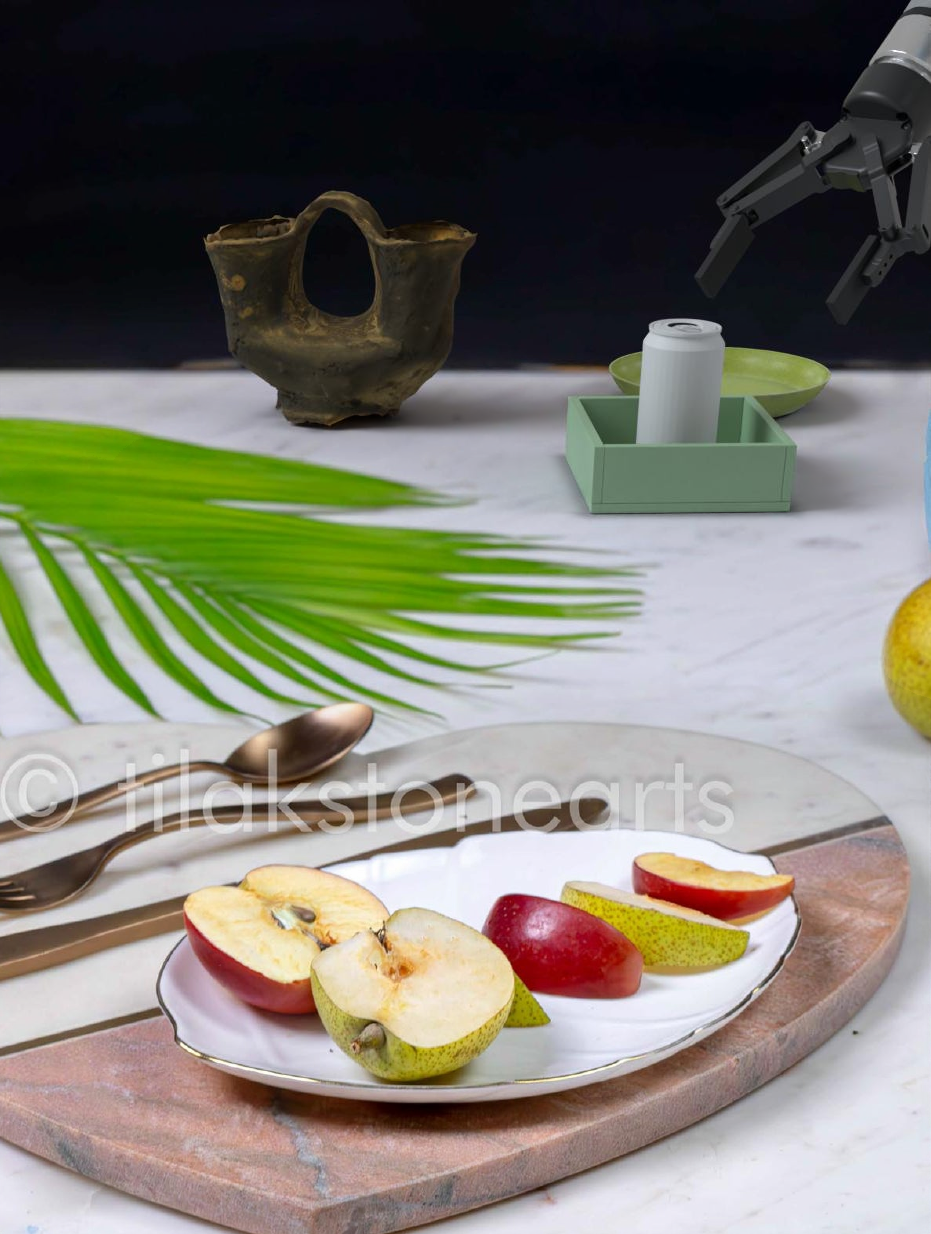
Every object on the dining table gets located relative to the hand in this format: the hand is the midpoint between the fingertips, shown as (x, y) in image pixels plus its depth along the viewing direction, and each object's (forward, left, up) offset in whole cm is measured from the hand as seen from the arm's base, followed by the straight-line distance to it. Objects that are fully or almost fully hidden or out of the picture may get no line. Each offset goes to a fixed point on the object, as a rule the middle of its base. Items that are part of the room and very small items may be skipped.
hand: (767, 300), depth 138 cm
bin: (+8, +6, -13) cm, 17 cm away
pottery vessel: (+35, -16, -14) cm, 41 cm away
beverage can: (+8, +6, -13) cm, 16 cm away
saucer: (-1, -20, -14) cm, 24 cm away
